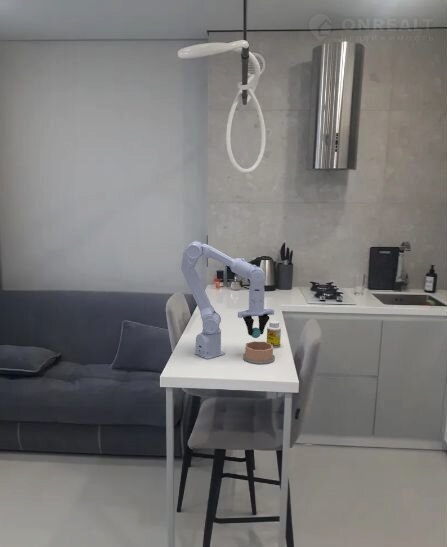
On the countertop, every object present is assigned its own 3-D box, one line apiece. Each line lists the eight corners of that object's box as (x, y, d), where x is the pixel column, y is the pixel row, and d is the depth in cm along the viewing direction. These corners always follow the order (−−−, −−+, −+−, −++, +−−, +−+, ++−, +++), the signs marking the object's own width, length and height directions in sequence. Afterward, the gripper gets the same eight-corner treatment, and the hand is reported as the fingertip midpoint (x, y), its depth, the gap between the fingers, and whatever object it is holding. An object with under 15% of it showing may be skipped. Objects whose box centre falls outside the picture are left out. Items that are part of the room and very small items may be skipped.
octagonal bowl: (258, 366, 165) (258, 353, 164) (236, 357, 174) (236, 344, 173) (281, 359, 173) (281, 347, 172) (259, 351, 182) (259, 338, 181)
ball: (255, 340, 173) (255, 329, 172) (248, 337, 176) (248, 327, 175) (262, 338, 176) (263, 328, 175) (255, 335, 179) (255, 325, 178)
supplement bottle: (263, 345, 189) (264, 321, 187) (273, 342, 192) (274, 319, 190) (272, 349, 184) (273, 324, 183) (282, 346, 188) (284, 322, 186)
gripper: (243, 303, 167) (242, 339, 169) (278, 300, 172) (277, 335, 175) (235, 299, 173) (235, 333, 175) (269, 296, 179) (268, 330, 181)
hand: (255, 334), depth 175 cm, fingers closed on ball, 4 cm apart
